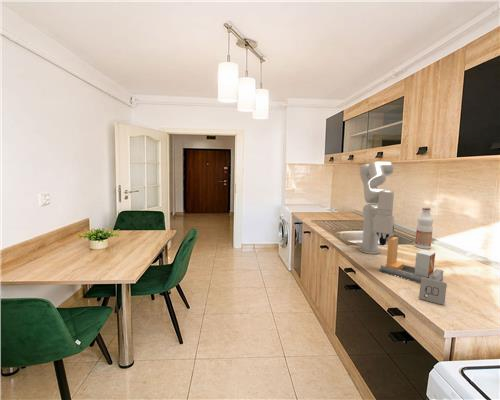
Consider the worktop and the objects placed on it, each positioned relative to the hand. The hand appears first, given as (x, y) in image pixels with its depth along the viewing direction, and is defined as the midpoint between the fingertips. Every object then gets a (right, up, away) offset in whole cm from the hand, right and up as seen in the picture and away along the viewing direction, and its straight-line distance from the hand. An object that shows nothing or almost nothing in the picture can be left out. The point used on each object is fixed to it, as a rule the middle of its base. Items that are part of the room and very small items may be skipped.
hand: (382, 244), depth 158 cm
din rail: (+10, -15, -9) cm, 20 cm away
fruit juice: (+47, -8, +40) cm, 63 cm away
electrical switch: (+4, -18, -36) cm, 40 cm away
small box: (+14, -14, -14) cm, 25 cm away
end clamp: (+5, -12, -4) cm, 14 cm away
